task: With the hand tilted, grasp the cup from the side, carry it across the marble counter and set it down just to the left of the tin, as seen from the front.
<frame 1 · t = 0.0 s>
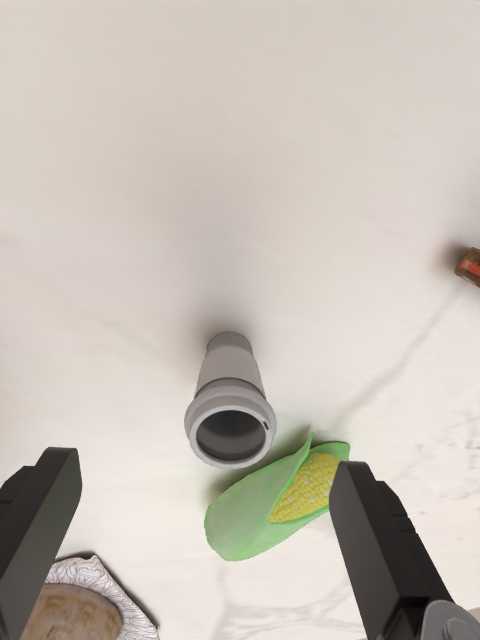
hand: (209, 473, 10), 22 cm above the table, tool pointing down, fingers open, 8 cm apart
cup: (229, 350, 34), on the table
corn: (272, 471, 42), on the table
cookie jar: (64, 607, 53), on the table
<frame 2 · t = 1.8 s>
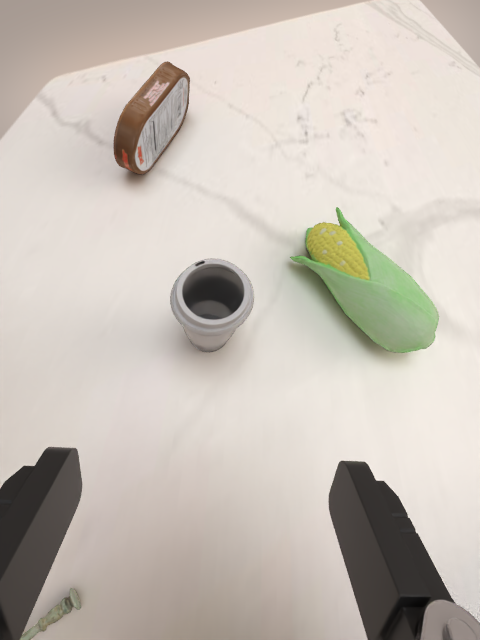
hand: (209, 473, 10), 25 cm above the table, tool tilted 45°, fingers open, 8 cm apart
cup: (208, 332, 38), on the table
corn: (347, 294, 42), on the table
tin: (159, 148, 46), on the table
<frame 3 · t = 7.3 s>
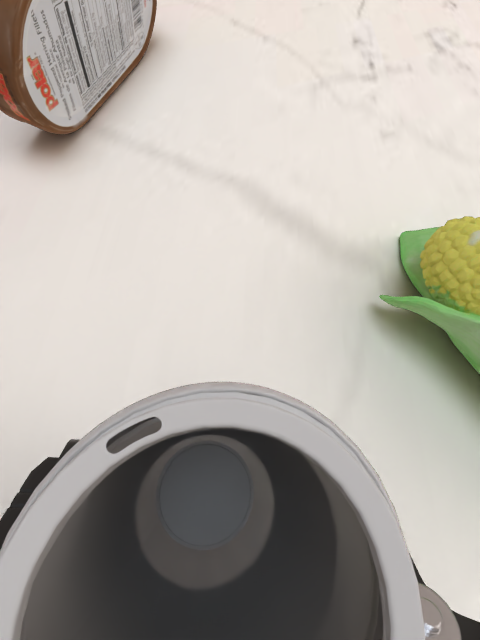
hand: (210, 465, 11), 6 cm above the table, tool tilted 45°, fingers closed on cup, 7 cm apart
cup: (205, 491, 16), on the table, touching gripper
tin: (103, 91, 24), on the table
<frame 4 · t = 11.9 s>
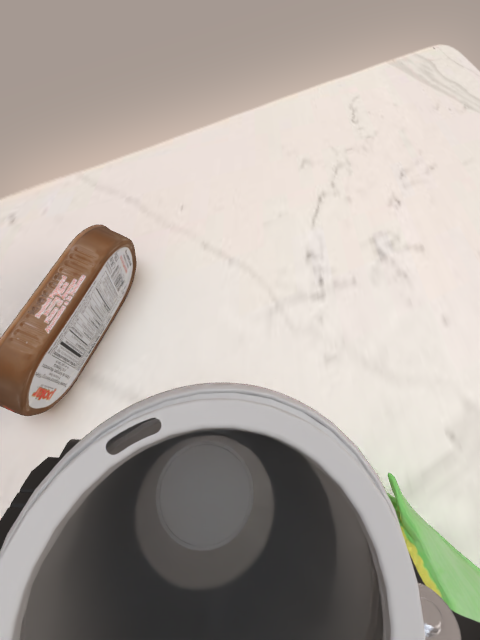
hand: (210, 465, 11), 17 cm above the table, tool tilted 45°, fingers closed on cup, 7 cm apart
cup: (205, 492, 16), point 11 cm above the table, touching gripper
corn: (410, 595, 25), on the table
tin: (93, 334, 29), on the table
when the fingers open (6 cm above the table, at t = 16.7 s): cup stays where it is, on the table.
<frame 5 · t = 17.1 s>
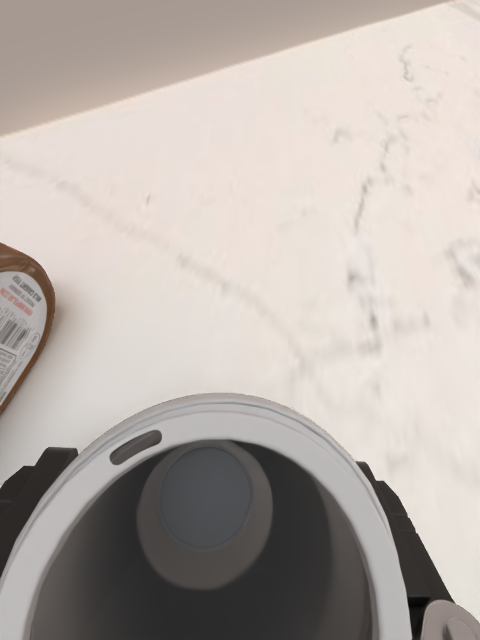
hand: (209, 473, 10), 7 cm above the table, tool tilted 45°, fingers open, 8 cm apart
cup: (206, 494, 16), on the table
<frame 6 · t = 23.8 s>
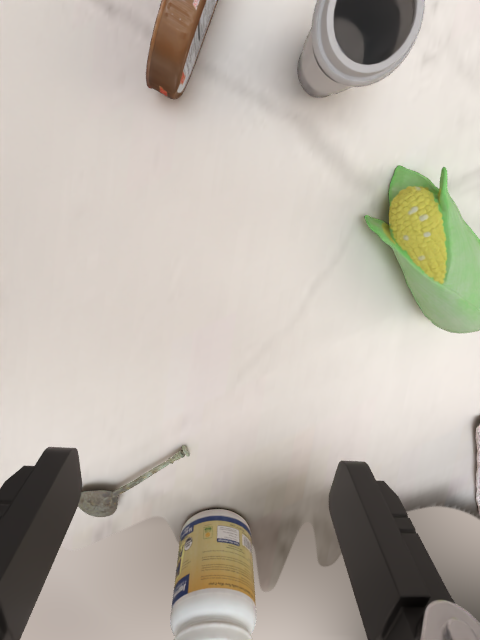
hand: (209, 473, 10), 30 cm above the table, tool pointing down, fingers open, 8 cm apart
soupspoon: (132, 476, 52), on the table
cup: (321, 68, 31), on the table
supplement tub: (216, 527, 58), on the table
corn: (418, 251, 39), on the table
tin: (201, 12, 29), on the table
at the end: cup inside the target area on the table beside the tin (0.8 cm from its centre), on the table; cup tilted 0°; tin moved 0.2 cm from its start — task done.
